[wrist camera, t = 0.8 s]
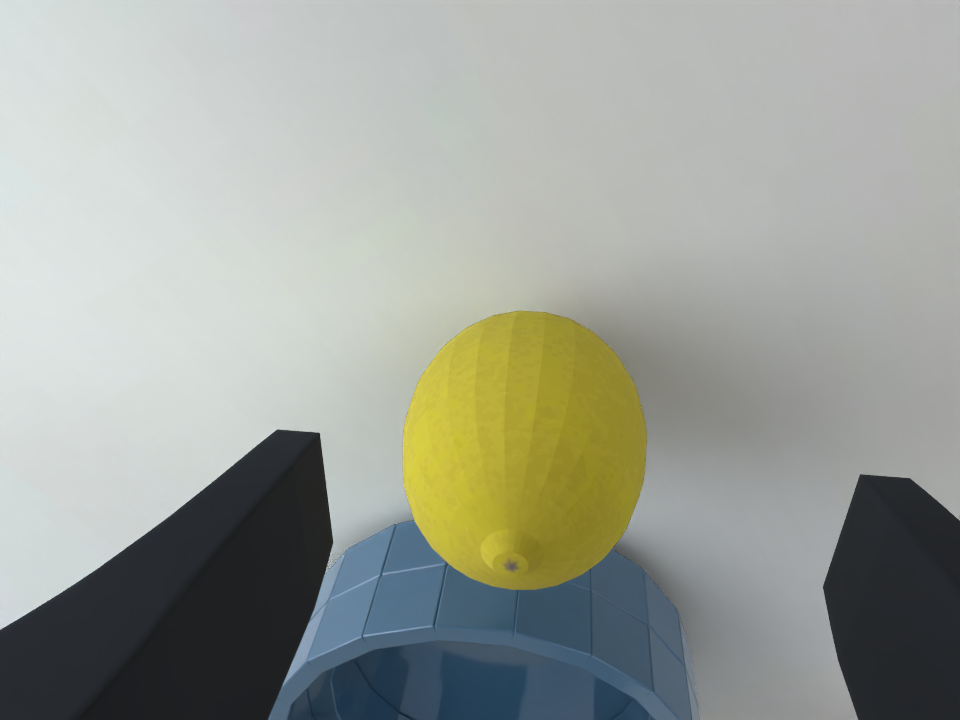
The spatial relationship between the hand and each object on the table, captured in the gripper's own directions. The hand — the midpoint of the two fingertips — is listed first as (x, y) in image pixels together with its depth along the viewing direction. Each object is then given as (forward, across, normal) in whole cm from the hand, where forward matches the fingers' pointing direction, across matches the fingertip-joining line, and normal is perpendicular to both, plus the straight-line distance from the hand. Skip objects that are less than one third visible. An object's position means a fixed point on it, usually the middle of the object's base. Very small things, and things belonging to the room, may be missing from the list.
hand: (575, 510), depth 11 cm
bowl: (+10, +2, +16) cm, 19 cm away
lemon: (+10, +1, +4) cm, 11 cm away
